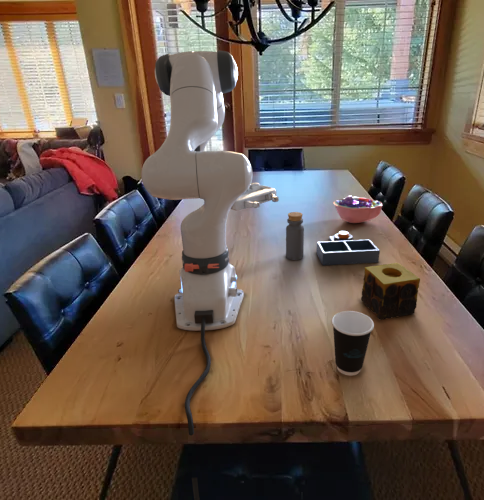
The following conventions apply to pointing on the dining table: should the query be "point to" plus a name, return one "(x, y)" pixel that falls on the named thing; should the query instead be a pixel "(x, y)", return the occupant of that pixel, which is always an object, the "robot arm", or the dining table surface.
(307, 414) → the dining table surface
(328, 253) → the tray
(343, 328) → the dixie cup
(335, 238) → the control block
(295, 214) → the bottle
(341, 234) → the button
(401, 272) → the candle
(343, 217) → the cell model
